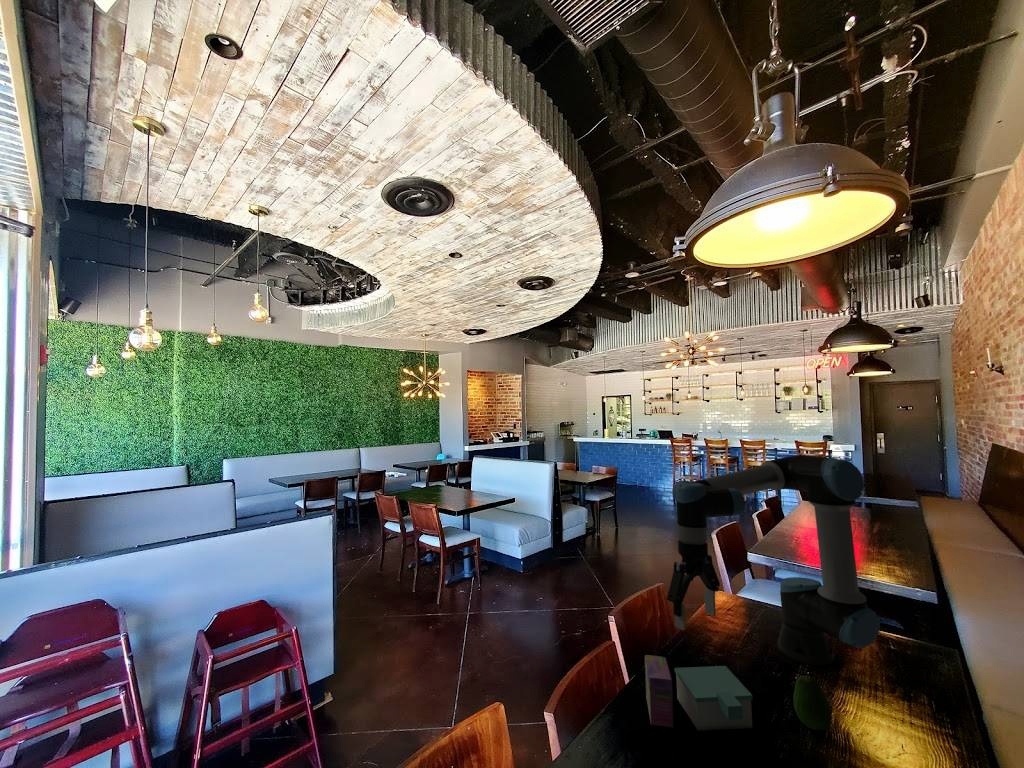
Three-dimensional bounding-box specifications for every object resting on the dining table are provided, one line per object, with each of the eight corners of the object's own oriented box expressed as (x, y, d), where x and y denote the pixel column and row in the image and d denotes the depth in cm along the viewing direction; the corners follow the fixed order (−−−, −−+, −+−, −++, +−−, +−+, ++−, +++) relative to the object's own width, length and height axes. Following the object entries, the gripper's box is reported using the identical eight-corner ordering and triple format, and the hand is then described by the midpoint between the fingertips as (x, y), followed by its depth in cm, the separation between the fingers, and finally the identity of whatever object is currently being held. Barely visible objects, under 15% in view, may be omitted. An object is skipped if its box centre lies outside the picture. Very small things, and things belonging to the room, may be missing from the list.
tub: (726, 696, 118) (725, 670, 118) (752, 728, 106) (750, 698, 106) (677, 698, 117) (676, 672, 118) (697, 730, 105) (696, 701, 106)
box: (674, 728, 106) (672, 679, 107) (650, 725, 107) (648, 677, 108) (667, 700, 116) (665, 656, 117) (646, 698, 118) (644, 654, 119)
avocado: (790, 713, 110) (787, 666, 111) (826, 720, 108) (822, 671, 109) (800, 735, 103) (796, 684, 104) (838, 743, 100) (834, 690, 101)
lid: (725, 673, 119) (725, 662, 119) (765, 717, 101) (764, 704, 101) (674, 675, 118) (674, 664, 118) (705, 720, 100) (705, 707, 101)
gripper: (706, 530, 126) (709, 604, 124) (651, 545, 112) (654, 628, 110) (731, 536, 119) (734, 614, 118) (675, 552, 106) (679, 640, 104)
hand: (695, 621), depth 114 cm, fingers open, 13 cm apart
